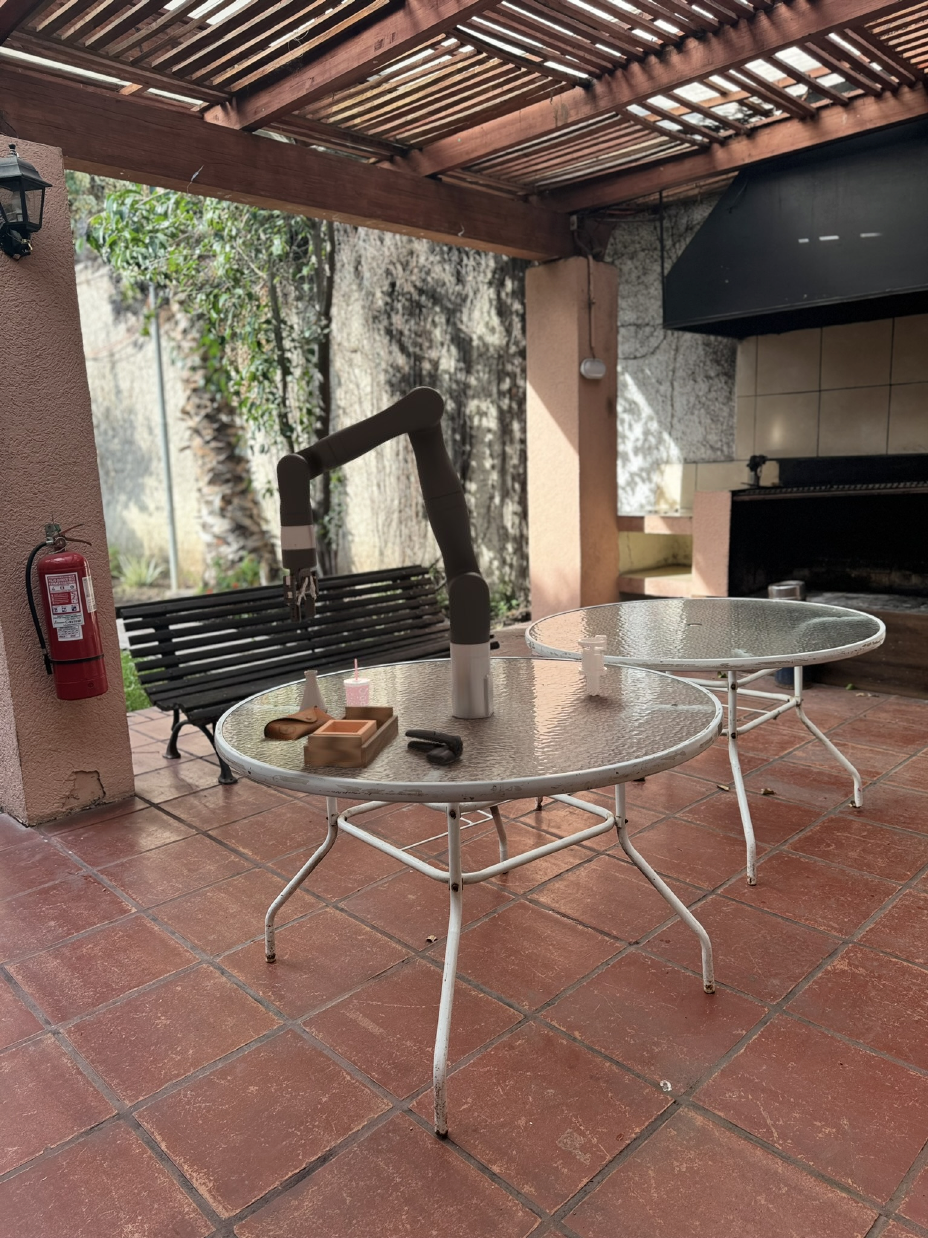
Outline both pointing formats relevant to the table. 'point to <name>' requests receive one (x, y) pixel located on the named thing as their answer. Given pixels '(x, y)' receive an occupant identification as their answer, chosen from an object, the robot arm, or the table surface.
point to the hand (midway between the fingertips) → (303, 619)
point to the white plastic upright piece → (593, 660)
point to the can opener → (437, 745)
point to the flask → (312, 693)
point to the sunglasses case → (297, 724)
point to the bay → (353, 740)
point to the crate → (349, 728)
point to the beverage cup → (357, 690)
